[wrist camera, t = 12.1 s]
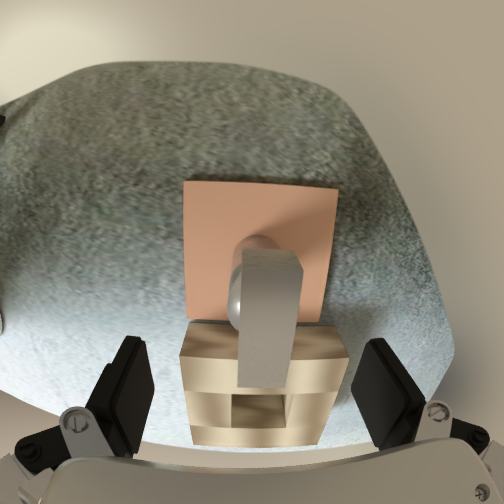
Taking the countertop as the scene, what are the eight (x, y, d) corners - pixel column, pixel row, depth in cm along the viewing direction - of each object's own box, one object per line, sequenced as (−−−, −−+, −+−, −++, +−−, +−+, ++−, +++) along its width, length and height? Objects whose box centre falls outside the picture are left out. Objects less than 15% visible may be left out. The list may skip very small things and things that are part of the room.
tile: (188, 313, 25) (187, 318, 25) (185, 180, 21) (183, 181, 21) (316, 317, 26) (318, 322, 25) (335, 188, 22) (338, 189, 21)
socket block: (197, 413, 30) (193, 444, 25) (189, 322, 26) (179, 356, 21) (310, 414, 31) (316, 444, 26) (334, 325, 26) (349, 357, 22)
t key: (233, 214, 22) (224, 267, 12) (285, 217, 22) (319, 271, 12) (231, 296, 24) (224, 387, 14) (278, 297, 24) (297, 387, 14)
